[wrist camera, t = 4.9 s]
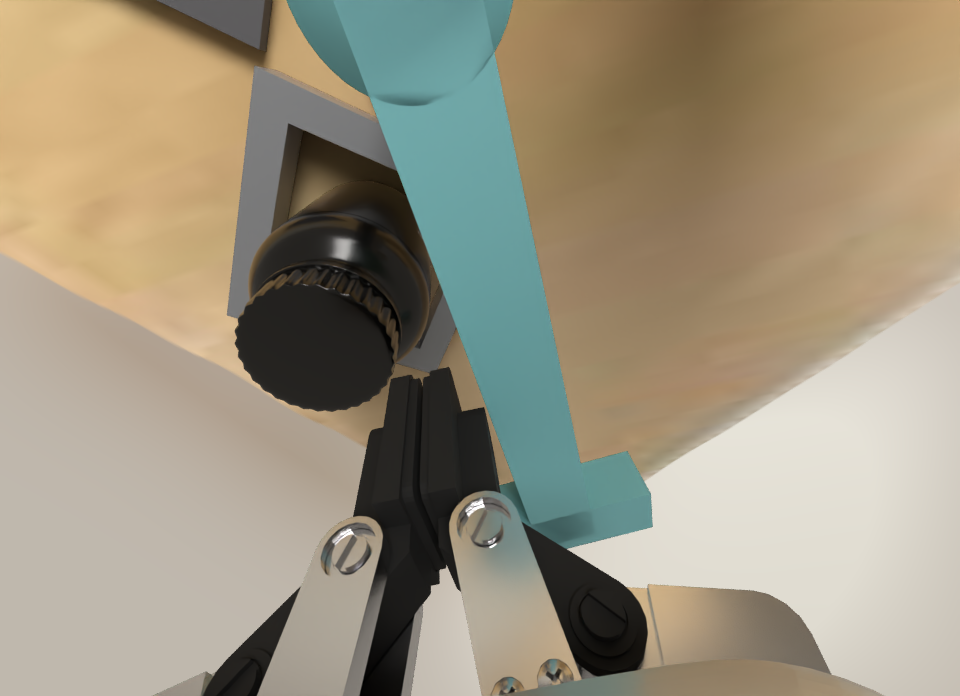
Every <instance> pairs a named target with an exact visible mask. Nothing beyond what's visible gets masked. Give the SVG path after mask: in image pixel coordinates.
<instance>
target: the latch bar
mask: <svg viewBox="0 0 960 696" xmlns="http://www.w3.org/2000/svg"><path fill="white" fill-rule="evenodd" d="M287 3H288V6H289V8H290V10H291V12H292V14H293V16H294V18H295V20H296V22H297V24H298V26H299V28H300V29H301V31H302V33H303V34H304V36H305V38H306V39H307V41H308V42H309V44H310V45H311V46H312V48H313V49H314V50H315V52H316V53H317V54H318V56H319V57H320V58H321V59H322V60H323V61H324V63H325V64H326V65H327V66H328V67H329V68H330V69H331V70H332V71H333V72H334V73H335V74H336V75H338V76H339V77H340V78H341V79H342V80H343V81H344V82H346V83H347V84H349V85H350V86H352V87H353V88H355V89H356V90H358V91H359V92H361V93H363V94H365V95H367V96H369V97H370V100H371V102H372V105H373V108H374V110H375V113H376V116H377V118H378V121H379V123H380V126H381V129H382V131H383V134H384V137H385V139H386V142H387V145H388V147H389V150H390V153H391V155H392V158H393V161H394V163H395V166H396V169H397V171H398V174H399V176H400V179H401V182H402V184H403V187H404V190H405V192H406V195H407V198H408V200H409V203H410V206H411V208H412V211H413V214H414V216H415V219H416V222H417V224H418V227H419V229H420V232H421V235H422V237H423V240H424V243H425V245H426V248H427V251H428V253H429V256H430V259H431V261H432V264H433V267H434V269H435V272H436V275H437V277H438V280H439V282H440V285H441V288H442V290H443V293H444V296H445V298H446V301H447V304H448V306H449V309H450V312H451V314H452V317H453V320H454V322H455V325H456V328H457V330H458V333H459V336H460V338H461V341H462V343H463V346H464V349H465V351H466V354H467V357H468V359H469V362H470V365H471V367H472V370H473V373H474V375H475V378H476V381H477V383H478V386H479V389H480V391H481V394H482V396H483V399H484V402H485V404H486V407H487V410H488V412H489V415H490V418H491V420H492V423H493V426H494V428H495V431H496V434H497V436H498V439H499V442H500V444H501V447H502V449H503V452H504V455H505V457H506V460H507V463H508V465H509V468H510V471H511V473H512V476H513V479H514V482H510V483H507V484H503V485H499V486H500V491H501V494H503V495H505V496H506V497H507V498H508V499H510V500H511V501H512V503H513V504H514V506H515V508H516V509H517V512H518V514H519V517H520V519H521V522H523V523H525V524H526V525H528V526H530V527H531V528H533V529H534V530H536V531H538V532H539V533H541V534H543V535H544V536H546V537H547V538H549V539H551V540H552V541H554V542H556V543H557V544H559V545H560V546H562V547H564V548H565V549H568V548H572V547H575V546H579V545H583V544H588V543H592V542H596V541H599V540H603V539H607V538H611V537H615V536H619V535H623V534H627V533H631V532H635V531H639V530H643V529H647V528H650V527H653V525H652V507H651V493H650V492H649V490H648V488H647V486H646V484H645V482H644V481H643V479H642V477H641V475H640V473H639V471H638V470H637V468H636V466H635V464H634V462H633V461H632V459H631V457H630V455H629V453H628V451H625V452H622V453H618V454H614V455H610V456H607V457H603V458H599V459H596V460H592V461H588V462H585V463H580V458H579V454H578V449H577V444H576V439H575V435H574V430H573V425H572V420H571V416H570V411H569V406H568V401H567V397H566V392H565V387H564V382H563V377H562V373H561V368H560V363H559V358H558V354H557V349H556V344H555V339H554V335H553V330H552V325H551V320H550V316H549V311H548V306H547V301H546V296H545V292H544V287H543V282H542V277H541V273H540V268H539V263H538V258H537V254H536V249H535V244H534V239H533V235H532V230H531V225H530V220H529V215H528V211H527V206H526V201H525V196H524V192H523V187H522V182H521V177H520V173H519V168H518V163H517V158H516V154H515V149H514V144H513V139H512V135H511V130H510V125H509V120H508V115H507V111H506V106H505V101H504V96H503V92H502V87H501V82H500V77H499V73H498V68H497V63H496V58H495V54H494V52H495V50H496V48H497V46H498V44H499V42H500V41H501V38H502V36H503V33H504V30H505V28H506V25H507V22H508V19H509V15H510V11H511V8H512V3H513V0H287Z"/></svg>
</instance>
